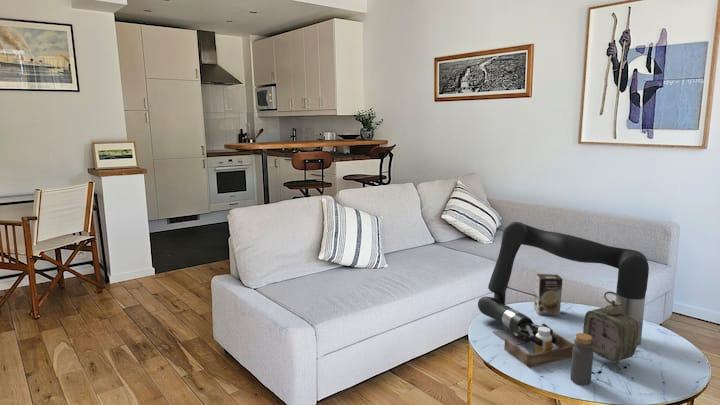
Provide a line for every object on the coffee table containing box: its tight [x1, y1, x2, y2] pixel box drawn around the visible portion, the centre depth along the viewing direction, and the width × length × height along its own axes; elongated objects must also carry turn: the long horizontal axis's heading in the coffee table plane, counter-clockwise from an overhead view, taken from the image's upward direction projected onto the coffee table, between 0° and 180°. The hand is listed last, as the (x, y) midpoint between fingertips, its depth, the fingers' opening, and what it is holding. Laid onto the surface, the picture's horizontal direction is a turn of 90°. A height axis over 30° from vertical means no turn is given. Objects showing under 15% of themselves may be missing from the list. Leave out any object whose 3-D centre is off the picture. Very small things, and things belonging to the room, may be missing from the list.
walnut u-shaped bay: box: [504, 331, 575, 368], centre depth 163 cm, size 13×20×4 cm, turn 109°
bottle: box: [570, 332, 594, 386], centre depth 145 cm, size 6×6×15 cm
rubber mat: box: [491, 328, 531, 346], centre depth 176 cm, size 12×12×1 cm
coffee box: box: [533, 273, 563, 316], centre depth 195 cm, size 9×6×16 cm
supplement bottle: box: [534, 327, 553, 353], centre depth 161 cm, size 5×5×10 cm
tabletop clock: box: [582, 290, 638, 373], centre depth 154 cm, size 14×9×25 cm, turn 23°
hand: (548, 342), depth 159 cm, fingers closed on supplement bottle, 5 cm apart
